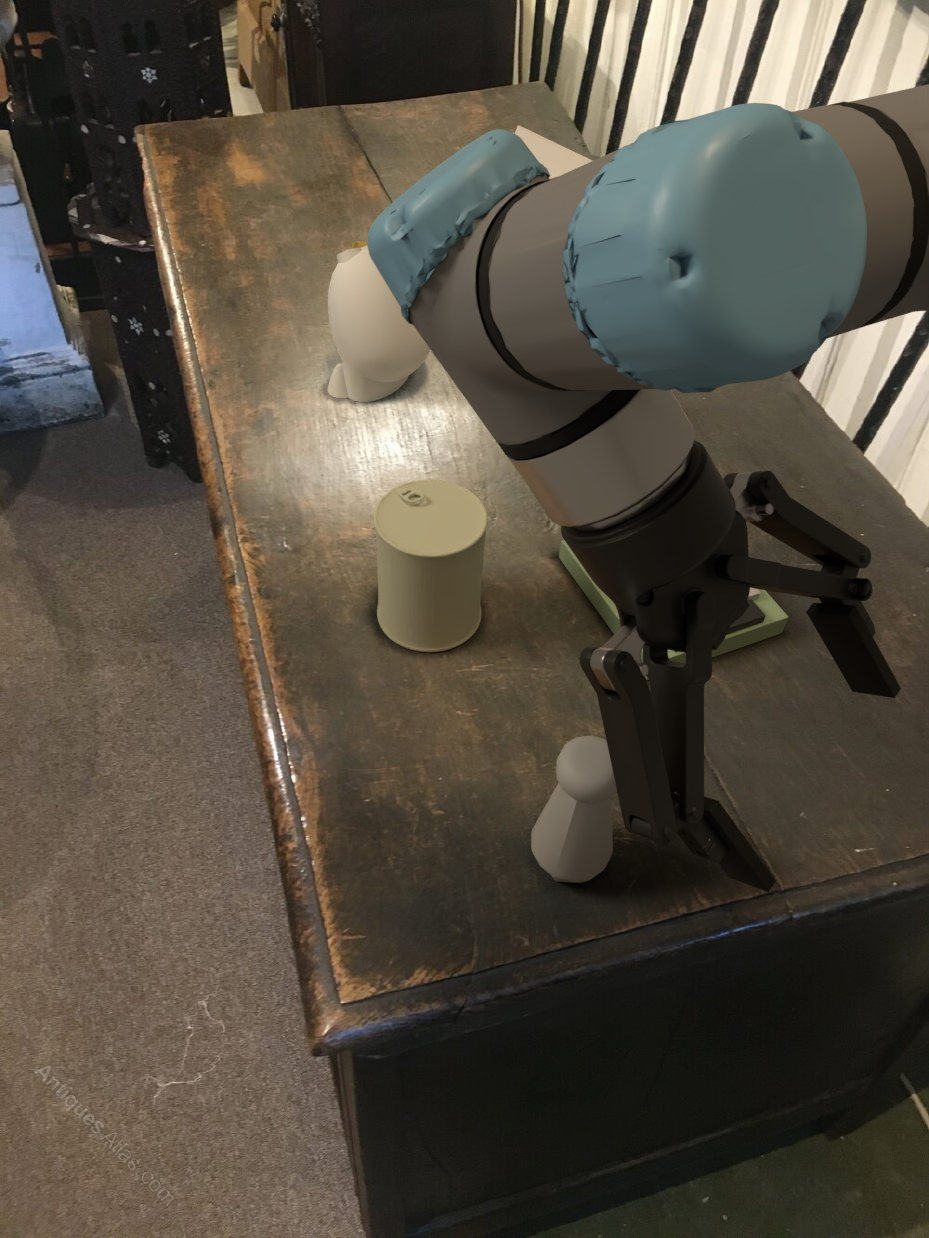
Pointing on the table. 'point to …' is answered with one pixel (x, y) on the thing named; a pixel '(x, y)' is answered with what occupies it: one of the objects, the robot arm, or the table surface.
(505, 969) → the table surface
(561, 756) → the salt shaker
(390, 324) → the figurine
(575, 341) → the robot arm
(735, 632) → the scale
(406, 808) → the table surface
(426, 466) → the table surface
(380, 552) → the can
